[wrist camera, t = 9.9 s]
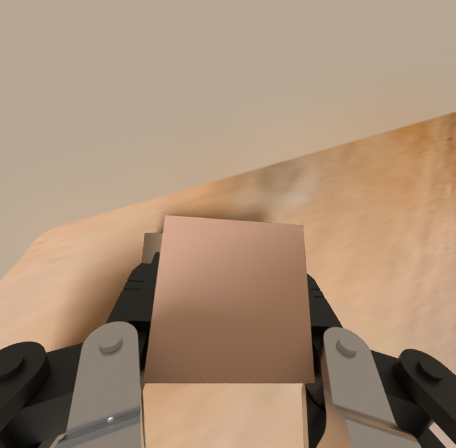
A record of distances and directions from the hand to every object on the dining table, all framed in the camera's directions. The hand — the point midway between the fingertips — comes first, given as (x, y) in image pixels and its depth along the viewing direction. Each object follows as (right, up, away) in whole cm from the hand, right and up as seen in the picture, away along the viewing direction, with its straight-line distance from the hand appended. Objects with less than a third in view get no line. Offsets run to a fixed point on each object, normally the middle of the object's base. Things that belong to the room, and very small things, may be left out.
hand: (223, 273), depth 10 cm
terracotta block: (-1, -3, +5) cm, 6 cm away
